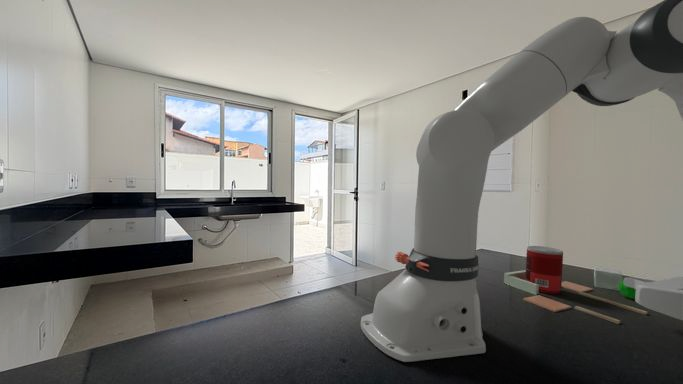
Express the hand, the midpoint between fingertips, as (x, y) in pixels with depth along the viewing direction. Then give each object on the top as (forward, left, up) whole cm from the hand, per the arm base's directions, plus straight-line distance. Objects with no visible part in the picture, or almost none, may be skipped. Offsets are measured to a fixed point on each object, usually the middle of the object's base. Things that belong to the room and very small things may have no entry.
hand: (626, 280), depth 60 cm
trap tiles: (0, +12, -8) cm, 15 cm away
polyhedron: (+16, +5, -8) cm, 19 cm away
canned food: (0, +17, -8) cm, 19 cm away
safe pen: (0, +19, -8) cm, 21 cm away
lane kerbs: (0, +5, -8) cm, 9 cm away
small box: (+21, +12, -8) cm, 26 cm away
